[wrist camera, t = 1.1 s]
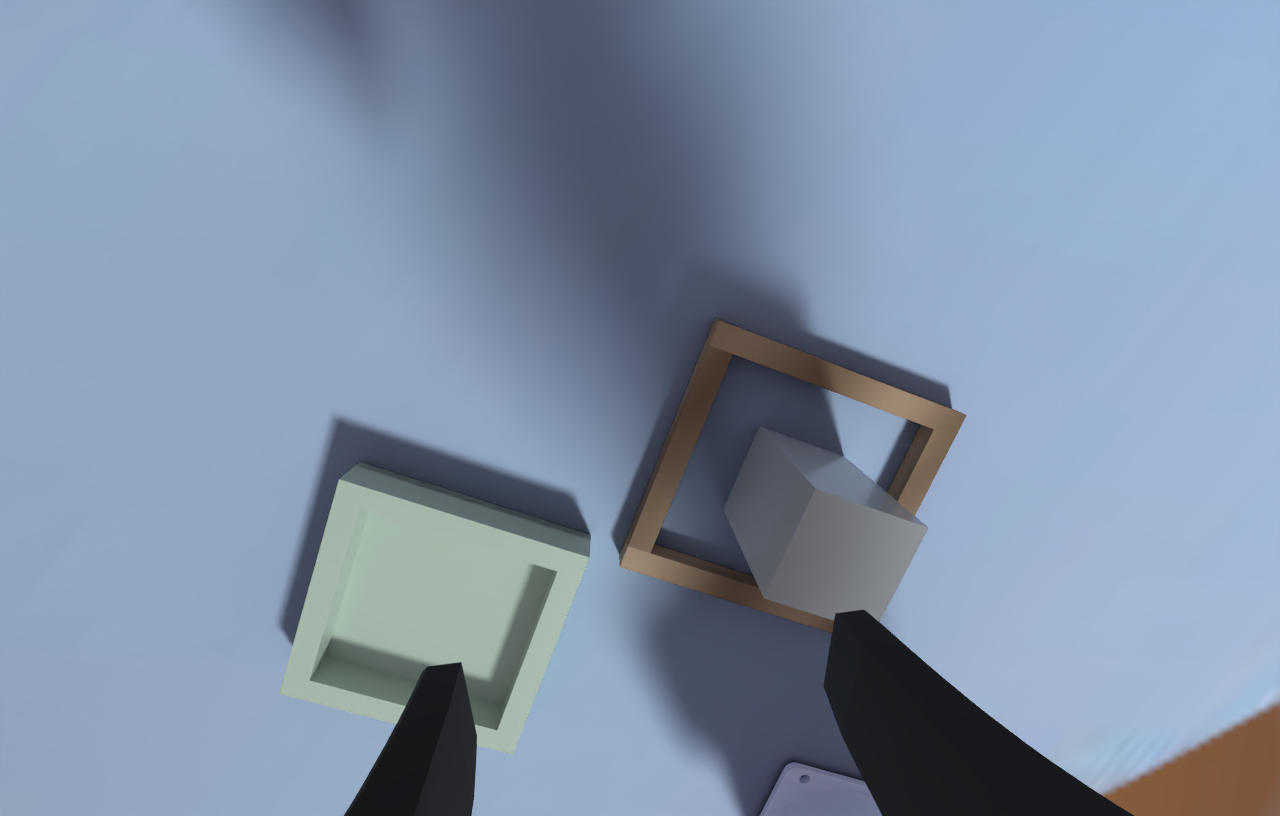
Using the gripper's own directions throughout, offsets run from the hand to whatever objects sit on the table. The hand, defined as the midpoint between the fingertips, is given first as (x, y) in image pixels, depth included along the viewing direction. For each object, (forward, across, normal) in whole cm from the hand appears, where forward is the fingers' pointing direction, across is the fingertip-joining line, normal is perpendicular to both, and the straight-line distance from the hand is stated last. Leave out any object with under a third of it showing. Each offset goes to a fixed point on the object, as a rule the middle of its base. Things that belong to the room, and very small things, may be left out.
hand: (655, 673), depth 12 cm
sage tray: (+13, +7, +9) cm, 18 cm away
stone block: (+13, -8, +5) cm, 16 cm away
